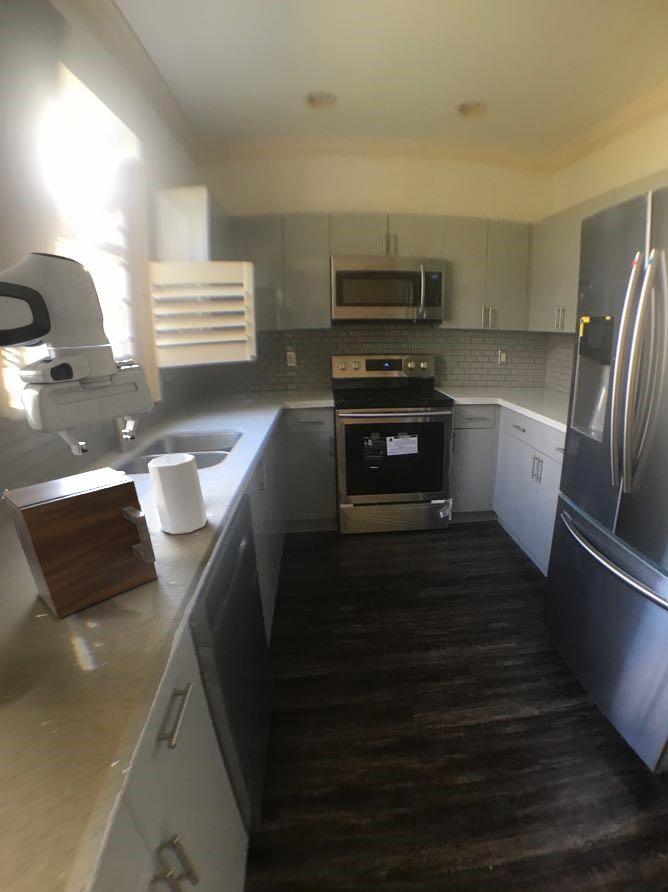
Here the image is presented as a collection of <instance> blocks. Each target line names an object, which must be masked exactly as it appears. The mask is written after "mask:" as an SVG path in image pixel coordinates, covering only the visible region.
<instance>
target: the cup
mask: <svg viewBox="0 0 668 892" xmlns="http://www.w3.org/2000/svg"><path fill="white" fill-rule="evenodd" d="M147 469H148V472H149V476H150V477H149V478H150V481H151V485H152V489H153V494H154V499H155V502H156V507H157V511H158V516H159V520H160V524H161V528H162V531H163V532H165V533H168V534H171V535H180V534H188V533H189V534H190V533H192V532H195V531H197V530H198V529H201V528H204V527H205V525H206V524H207V523H206V522H207V521H208V519H207V513H206V508H205V503H204V498H203V493H202V487H201V482H200V477H199V471H198V466H197V461H196V457H195V455H193V454H189V453H175V454H166V455H162V456H159V457H155V458H152V459H151V460H150V461H149V462H148V464H147Z"/></svg>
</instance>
